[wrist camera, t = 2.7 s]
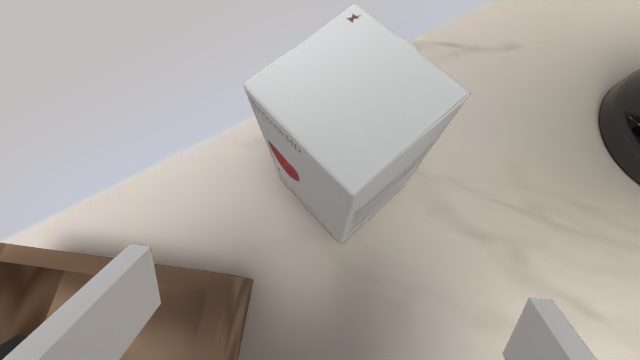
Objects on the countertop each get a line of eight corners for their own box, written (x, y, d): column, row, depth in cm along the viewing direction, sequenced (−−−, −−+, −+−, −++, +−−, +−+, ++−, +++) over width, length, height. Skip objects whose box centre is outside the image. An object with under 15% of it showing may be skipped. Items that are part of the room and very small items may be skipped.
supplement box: (277, 178, 31) (234, 79, 17) (343, 124, 33) (355, -5, 19) (340, 248, 28) (352, 199, 14) (408, 185, 30) (477, 88, 16)
